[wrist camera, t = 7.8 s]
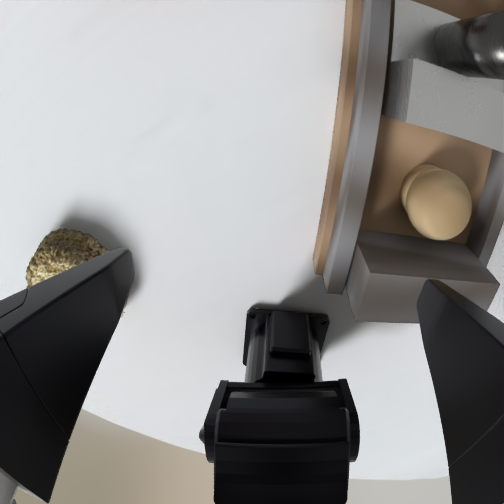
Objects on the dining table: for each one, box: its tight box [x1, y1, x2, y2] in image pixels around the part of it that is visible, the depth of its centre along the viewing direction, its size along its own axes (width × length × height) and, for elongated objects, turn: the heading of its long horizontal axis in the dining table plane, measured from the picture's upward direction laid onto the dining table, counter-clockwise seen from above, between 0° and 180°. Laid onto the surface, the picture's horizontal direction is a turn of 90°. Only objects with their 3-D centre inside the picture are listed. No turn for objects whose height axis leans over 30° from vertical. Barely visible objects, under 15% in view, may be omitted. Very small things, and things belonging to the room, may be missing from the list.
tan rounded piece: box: [399, 164, 472, 240], centre depth 16 cm, size 4×4×4 cm
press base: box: [313, 0, 504, 323], centre depth 13 cm, size 24×12×7 cm, turn 176°
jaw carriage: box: [381, 0, 504, 153], centre depth 10 cm, size 7×8×7 cm
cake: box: [26, 229, 126, 317], centre depth 23 cm, size 10×10×5 cm
